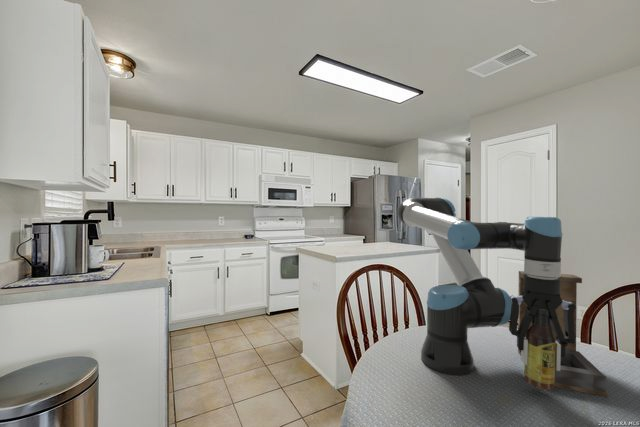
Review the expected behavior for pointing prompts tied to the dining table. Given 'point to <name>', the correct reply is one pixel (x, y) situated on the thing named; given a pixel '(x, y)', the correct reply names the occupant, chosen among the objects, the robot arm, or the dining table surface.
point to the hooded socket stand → (570, 346)
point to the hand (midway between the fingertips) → (539, 365)
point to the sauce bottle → (540, 352)
